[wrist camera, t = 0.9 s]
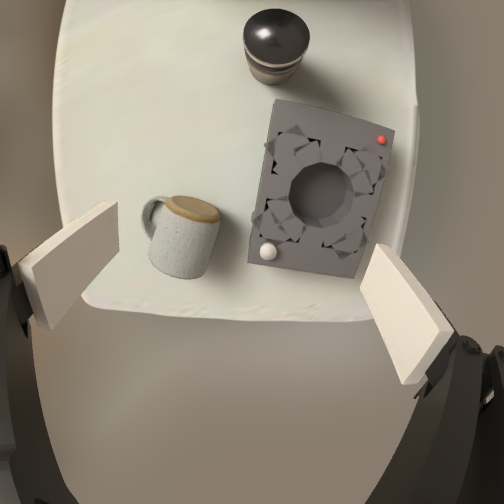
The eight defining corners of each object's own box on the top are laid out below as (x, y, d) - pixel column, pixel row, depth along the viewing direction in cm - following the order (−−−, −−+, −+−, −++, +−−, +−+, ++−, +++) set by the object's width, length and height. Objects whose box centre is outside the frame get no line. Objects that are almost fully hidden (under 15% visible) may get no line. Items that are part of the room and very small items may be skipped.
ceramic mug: (228, 206, 35) (218, 225, 28) (209, 260, 38) (198, 289, 31) (152, 180, 34) (126, 194, 27) (140, 235, 37) (116, 258, 30)
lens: (252, 43, 26) (247, 3, 15) (297, 50, 26) (315, 14, 15) (244, 82, 28) (236, 58, 18) (290, 89, 29) (306, 69, 18)
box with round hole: (270, 103, 29) (272, 97, 23) (376, 130, 30) (401, 132, 24) (246, 241, 37) (243, 265, 31) (344, 257, 38) (358, 282, 31)
